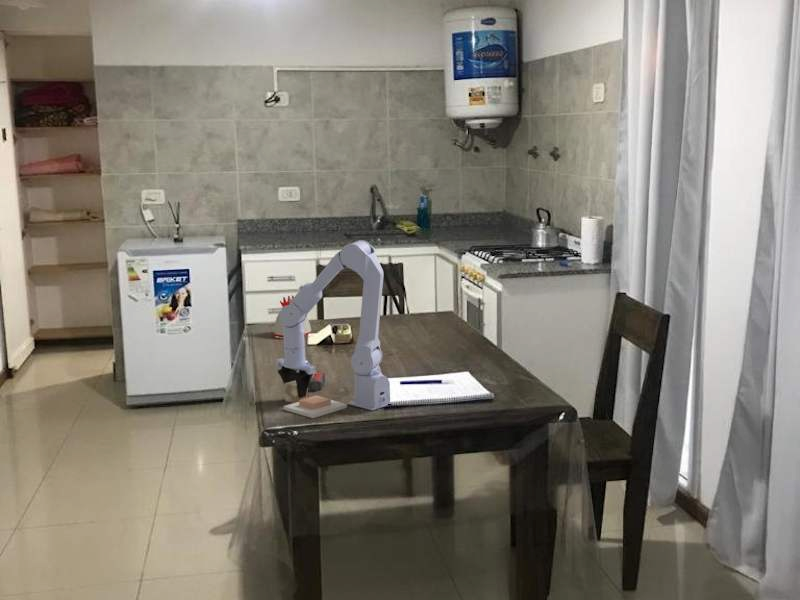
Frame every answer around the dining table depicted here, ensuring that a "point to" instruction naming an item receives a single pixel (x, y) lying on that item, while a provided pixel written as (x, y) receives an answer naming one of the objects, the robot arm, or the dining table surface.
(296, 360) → the robot arm
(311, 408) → the base plate
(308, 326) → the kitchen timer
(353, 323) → the dining table surface
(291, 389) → the birch block
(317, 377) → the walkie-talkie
